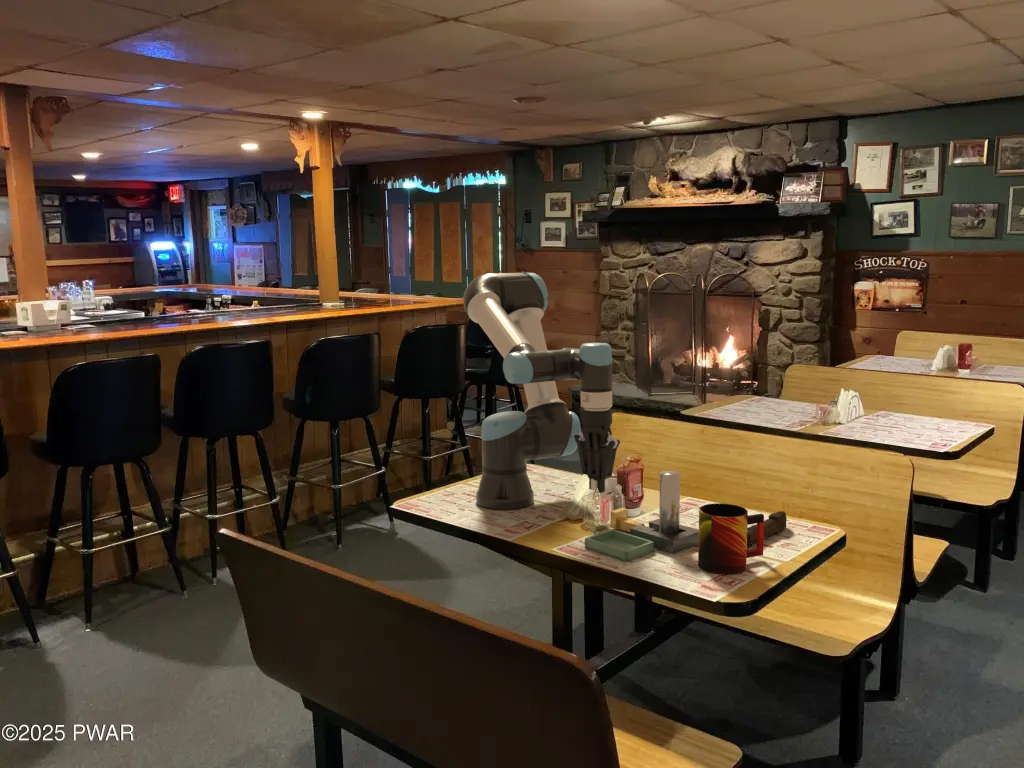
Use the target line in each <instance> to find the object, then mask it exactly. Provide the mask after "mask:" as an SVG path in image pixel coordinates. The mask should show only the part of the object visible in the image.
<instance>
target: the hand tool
mask: <svg viewBox="0 0 1024 768" xmlns="http://www.w3.org/2000/svg"><path fill="white" fill-rule="evenodd" d="M786 528H787V513H786V512H785V511H784V510H782V511H781V510H780V511H777V512H774V513H773V512H771V514H769V515H768V518H767V519H764V531H763V538H764V539H765V538H768V536H771V535H773V534H774V535H779V534H781V533H783V532H784V531H785V529H786ZM754 543H757V523H756V524H753V525H751V526H749V527H747V549H749V547H750V546H751V547H752V546H753V544H754Z"/></svg>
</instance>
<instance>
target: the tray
mask: <svg viewBox="0 0 1024 768" xmlns="http://www.w3.org/2000/svg"><path fill="white" fill-rule="evenodd" d="M584 548H585V549H587V550H590V551H593V552H596V553H599V554H602V555H605V556H608V557H611V558H614V559H617V560H620V561H622V562H625V563H627V562H630V561H633V560H635V559H638V558H642V557H643V556H646V555H650V554H652V553H654V552H655V549H654V542H653V541H650V540H646V539H643V538H640V537H637V536H633V535H630V533H627V532H625V531H624V532H622V531H621V530H618V529H613V528H610V529H609V530H606V531H605V530H604V531H602V532H599V533H596V534H593V535H590V536H588V537H585V538H584Z"/></svg>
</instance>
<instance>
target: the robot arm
mask: <svg viewBox="0 0 1024 768" xmlns="http://www.w3.org/2000/svg"><path fill="white" fill-rule="evenodd" d="M548 293H549V292H548V289H547V286H546V283H545V282H544V279H543V278H542V277H541V276H540V275H539V274H538V273H537V274H536V273H535V272H525V271H520V272H503V273H501V272H500V273H498V272H497V273H496V272H494V273H493V272H489V273H483V274H481V275H478V276H476V277H475V278H473V280H471V281H470V282H469V284H468V285H467V287H466V288H465V290H464V293H463V299H462V301H463V303H462V304H463V307H464V311H465V313H466V314H467V316H468V317H469V319H470V320H471V321H473V322H474V323H476V324H478V325H479V326H480V328H481V329H482V330H483V332H484V333H485V334H486V335H487V337H488V338H489V340H490V341H491V342H492V344H493V345H494V347H495V348H496V350H497V351H498V352H499V354H500V355H501V356H502V357H503V362H502V371H503V374H504V378H505V380H506V381H507V382H508V383H509V384H511V385H512V384H513V385H514V384H518V385H519V384H520V385H523V389H524V392H525V397H526V398H525V399H526V401H527V408H526V409H525V411H524V412H523V411H522V410H521V411H519V410H512V411H510V410H509V411H502V412H498V413H493V414H491V415H488V416H487V417H485V418H484V419H483V420H482V423H481V433H480V439H481V461H482V463H481V464H482V465H481V468H482V474H481V479H480V481H479V484H478V489H477V491H476V495H475V498H476V499H475V500H476V501H475V502H476V504H477V505H478V506H479V507H481V508H482V507H483V508H486V509H490V510H499V511H500V510H501V511H504V510H506V511H507V510H516V509H517V510H518V509H521V508H526V507H529V506H531V505H532V504H533V503H534V502H535V496H534V494H535V493H534V490H533V488H532V485H531V481H530V478H529V475H528V469H527V468H528V467H527V462H528V461H536V460H543V459H550V458H551V459H552V458H557V459H558V458H561V457H565V456H566V457H567V456H570V455H572V454H574V453H575V452H576V450H578V456H579V463H580V466H581V472H582V474H583V475H585V476H587V478H588V483H589V485H588V489H589V490H590V489H591V490H596V489H597V488H598V490H599V492H600V493H603V494H604V493H605V491H606V479H607V478H608V479H609V478H611V477H612V476H613V471H614V466H615V462H616V461H615V460H616V456H617V455H616V454H617V449H618V448H619V446H620V444H621V441H620V440H619V439H616V438H615V437H614V436H613V433H612V430H611V426H612V424H613V410H612V409H611V408H612V407H613V360H614V359H613V355H612V346H611V345H610V344H609V343H606V342H585V343H582V344H581V345H580V347H579V348H577V347H563V348H562V349H551V350H548V347H547V344H546V343H547V342H546V339H545V335H544V330H543V326H542V321H541V319H543V317H544V315H545V311H546V309H547V307H548V304H549V299H548V297H549V294H548ZM571 380H572V381H573V380H576V381H579V385H580V386H579V391H580V395H579V396H580V407H581V409H580V418H579V416H578V415H577V413H575V412H573V411H569V410H568V405H567V403H566V402H565V401H563V400H562V399H560V397H559V393H558V388H557V384H556V381H557V382H559V381H571ZM581 425H582V427H581Z"/></svg>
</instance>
